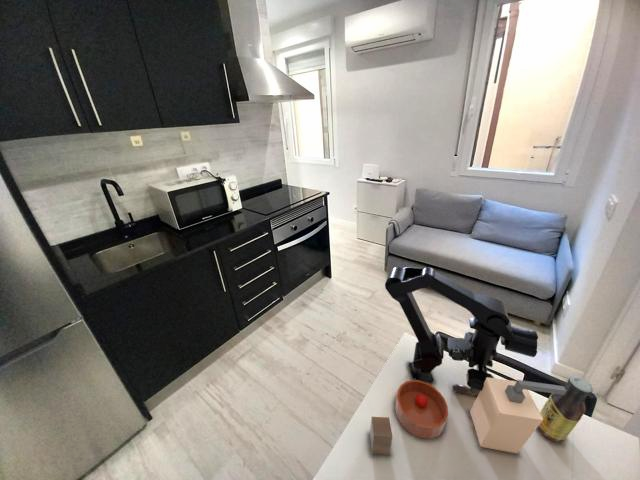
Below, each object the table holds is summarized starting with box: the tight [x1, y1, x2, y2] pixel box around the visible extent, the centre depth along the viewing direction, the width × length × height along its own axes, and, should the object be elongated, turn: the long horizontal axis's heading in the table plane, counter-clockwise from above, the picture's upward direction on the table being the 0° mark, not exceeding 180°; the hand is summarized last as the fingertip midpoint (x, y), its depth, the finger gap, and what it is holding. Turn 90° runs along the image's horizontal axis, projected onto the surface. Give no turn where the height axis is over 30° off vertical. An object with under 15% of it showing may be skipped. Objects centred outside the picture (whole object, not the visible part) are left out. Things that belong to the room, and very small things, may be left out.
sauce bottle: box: [537, 375, 594, 443], centre depth 64 cm, size 7×6×20 cm
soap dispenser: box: [469, 377, 567, 454], centre depth 62 cm, size 13×9×22 cm
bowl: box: [394, 379, 449, 440], centre depth 72 cm, size 13×13×5 cm
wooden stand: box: [369, 416, 393, 456], centre depth 65 cm, size 4×4×8 cm
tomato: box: [416, 394, 427, 407], centre depth 74 cm, size 3×3×3 cm
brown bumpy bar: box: [451, 383, 479, 397], centre depth 78 cm, size 8×2×2 cm
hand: (471, 379), depth 77 cm, fingers open, 9 cm apart
